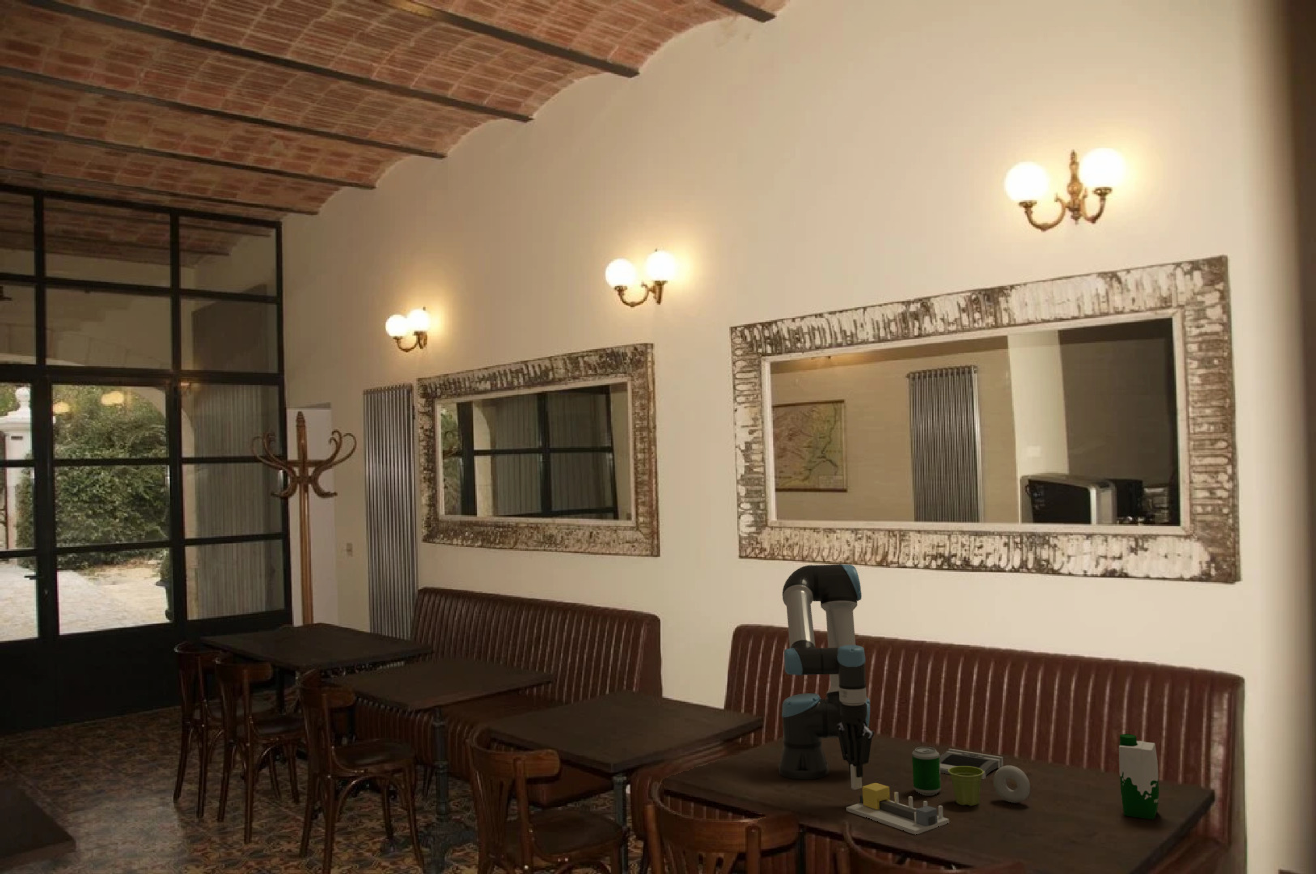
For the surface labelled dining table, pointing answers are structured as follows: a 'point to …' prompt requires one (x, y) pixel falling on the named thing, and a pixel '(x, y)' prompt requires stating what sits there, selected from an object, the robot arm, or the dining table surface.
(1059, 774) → the dining table surface
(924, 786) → the soda can
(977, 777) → the plant pot
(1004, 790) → the donut
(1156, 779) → the milk carton
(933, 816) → the white pegged slab
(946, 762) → the alarm clock
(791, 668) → the robot arm
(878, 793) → the yellow sliding cube
